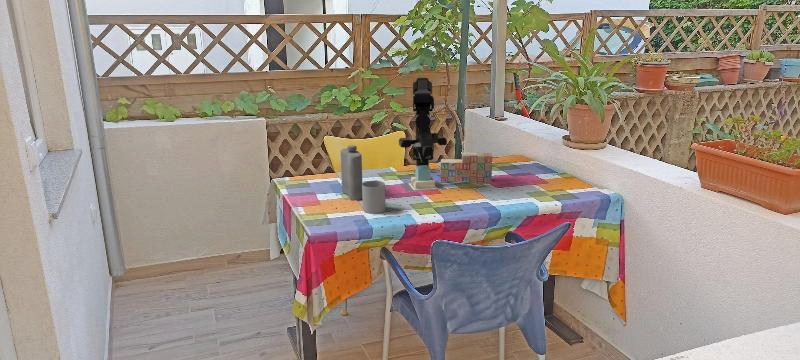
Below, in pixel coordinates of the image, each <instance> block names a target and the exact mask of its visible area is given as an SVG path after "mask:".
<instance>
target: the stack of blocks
mask: <svg viewBox="0 0 800 360" xmlns="http://www.w3.org/2000/svg"><path fill="white" fill-rule="evenodd" d="M492 173H493V153H491V152H462V153H461V159H459V158H458V159H457V158H455V159H454V158H450V159H449V158H447V159H446V158H441V159H440V182H468V183H469V184H471V185H492V178H493V177H492V175H493V174H492Z"/></svg>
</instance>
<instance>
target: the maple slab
mask: <svg viewBox="0 0 800 360" xmlns="http://www.w3.org/2000/svg"><path fill="white" fill-rule="evenodd" d="M435 181H436V180H435V179H433V177H431V176H430V180H427V181H418V180H417V179H416V178H415V176H411V177H410V183H411V185H412V186H413V187H414V188H415V189H429V188H435Z"/></svg>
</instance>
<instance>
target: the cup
mask: <svg viewBox="0 0 800 360" xmlns="http://www.w3.org/2000/svg"><path fill="white" fill-rule="evenodd" d="M386 210H387V208H386V182H384V181H381V180H368V181H364V182H362V212H363V211H364V212H363V213H365V214H368V213H369V214H371V215H375V214H376V215H377V214H382V213H385V212H386Z"/></svg>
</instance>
